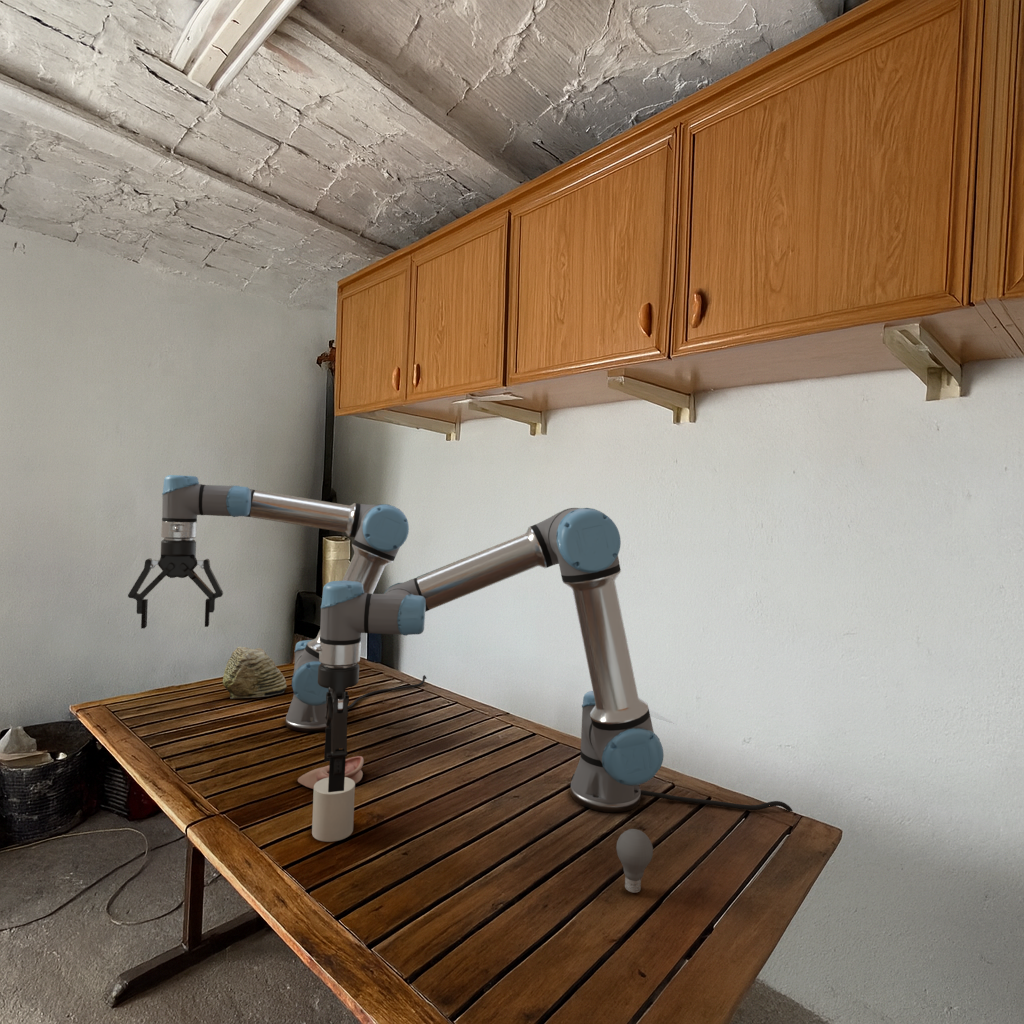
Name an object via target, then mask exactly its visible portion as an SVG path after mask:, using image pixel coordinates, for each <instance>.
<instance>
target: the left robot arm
mask: <svg viewBox="0 0 1024 1024" xmlns="http://www.w3.org/2000/svg"><path fill="white" fill-rule="evenodd" d="M161 495H162V496H161V498H162V500H161V501H162V502H161V504H162V506H161V507H162V508H161V510H162V511H161V512H162V513H161V530H160V531H161V533H160V536H161V538H162V540H161V541H160V557H159V559H153V558H150V557H149V558H146V560H145V561H144V566H143V570H142V571H141V572H140V574H139V576H138V578H137V579H136V581H135V582H134V584H133V586H132V587H131V589H130V590H129V592H128V593H127V597H128V598H129V599H134V600H135V601H136V614H137V615H141V617H140V629H146V628H147V627H148V602H149V599H148V598H146V596H148V595H149V594H150V592H151V591H153V589H154V588H155V587H156V586H157V585H158V584H159V583H161V581H162V580H163V579H164V578H166V577H168V578H169V579H175V578H180V579H185V578H188V579H190V580H191V581H192V582H193V583H194V584H195V585H196V586H197V588H198V589H200V590H201V592H202V593H203V594H204V595H205V596H206V597H207V598H206V599H205V604H204V605H205V607H204V608H205V609H204V628H205V627H206V628H208V627H209V625H210V613H214V611H215V608H216V600H217V599H218V598H221V597H222V596H223V595H224V591H223V589H222V587H221V585H220V583H219V580H218V579H217V577H216V576H215V573H214V572H213V570H212V567H211V562H210V561H211V560H210V559H209V558H205V559H197V541H196V540H195V538H197V528H198V516H214V517H215V516H217V517H232V518H236V517H237V518H239V517H245V518H252V519H260V520H266V521H272V522H278V523H283V524H284V523H285V524H290V525H297V526H303V527H309V528H315V529H322V530H327V531H328V530H329V531H334V532H339V533H340V532H341V533H345V534H346V536H347V537H349V538H354V539H353V541H352V543H351V546H352V549H353V552H354V553H353V555H352V558H351V560H350V562H349V565H348V567H347V570H346V571H345V574H344V575H343V577H342V580H341V581H355V582H360V583H362V584H363V590H364V593H369V594H374V592H375V589H376V588H377V585H378V583H379V581H380V578H381V576H382V574H383V572H384V570H385V567H386V566H388V565H390V564H393V563H394V561H395V559H396V557H397V555H398V552H399V550H400V548H401V547H402V546H403V545H404V544H405V542H406V541H407V540H408V536H409V533H410V532H409V531H410V525H409V521H408V518H407V516H406V515H405V513H404V512H403V511H402V510H401V509H400V508H398V507H397V506H394V505H392V504H388V503H387V504H386V503H385V504H384V503H379V504H367V503H365V504H364V503H358V502H354V503H352V504H350V505H348V504H342V503H338V502H337V503H336V502H330V501H325V500H319V499H313V498H307V497H300V496H294V495H289V494H282V493H276V492H271V491H264V490H260V489H259V490H258V489H252V488H250V487H248V486H242V485H241V486H240V485H222V484H221V485H219V484H218V485H217V484H202V483H200V482H199V478H198V476H194V475H179V474H176V475H175V474H169V475H166V476H165V477H164V478H163V487H162V493H161ZM156 566H158V567H159V568H160V570H161V572H160V573H159V574H158V575H157V576H156V577H155V578H154V579H153V580H152V581H151V582H150V583H149V584H148V585H147V586H146V587H145V588H144V590H142V591H141V592H140V593H138V592H139V590H140V588H141V587H142V585H143V583H144V582H145V580H146V579H147V577H148V576H149V574H150V572H151V570H152V569H154V568H155V567H156ZM197 566H199V567H200V568H201V569H203V570H204V573H205V576H206V577H207V578H208V580H209V582H210V585H211V587H212V588H213V590H212V589H211V588H210V587H209V586H208V585H207V584H206V583H205V582H204V581H203V580H202V579H201V577H200V576H199V575H198V574H197V573H196V571H195V569H196V567H197ZM213 591H214V592H213ZM317 646H321V645H320V630H319V631H318V633H317V636H316V637H315V638H313V639H306V640H305V639H304V640H300V641H298V642H296V643H295V648H294V650H293V651H294V667H293V673H292V677H291V688H292V691H293V695H292V696H293V697H292V699H291V702H290V704H289V708H288V711H287V713H286V715H285V726H286V728H287V729H289V730H291V731H294V732H295V731H296V732H301V733H316V732H326V727H329V726H326V721H327V720H326V718H325V716H326V710H327V708H326V702H327V701H326V692H328V689H329V688H324V687H322V686H320V685H319V684H318V666H319V665H320V664H321V663H320V662H319V653H320V651H316V647H317ZM425 680H427V676H426V675H425V674H424V675H422V680H421V681H420V682H419V683H416V684H415V683H414V684H411V685H410V684H409V685H402V686H398V687H390V688H381V689H378V690H372V691H369V692H367V693H364V694H363V695H361V696H359V697H357V698H356V699H354V701H353V702H352V703H351V704H348V710H349V709H351V708H353V707H354V706H355V705H356V704H357V703H358V702H359V701H360V700H362V699H365V698H367V697H368V696H371V695H375V694H379V693H384V692H392V691H398V690H399V691H400V690H406V689H411V688H416V687H420V686H422V685H423V684H424V683H425Z"/></svg>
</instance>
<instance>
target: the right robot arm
mask: <svg viewBox="0 0 1024 1024" xmlns="http://www.w3.org/2000/svg"><path fill="white" fill-rule="evenodd" d="M620 550H621V534H620V531H619V528H618V527H617V524H616V523H615V522H614V521H613V519H611V517H610V516H608V515H607V514H606V513H604V512H603V511H600V510H598V509H596V508H591V507H568V508H566V509H563V510H561V511H559V512H557V513H554V515H552V516H550V517H548V518H546V519H544V520H541V521H540V522H538V523H535V524H533V525H529V526H528V527H527V529H526V532H525V533H524V534H520V535H518V536H516V537H513V538H510V539H508V540H506V541H503V542H500V543H498V544H496V545H494V546H491V547H488V548H486V549H483V550H480V551H478V552H476V553H473V554H471V555H468V556H466V557H463V558H461V559H458V560H456V561H453V562H451V563H448V564H446V565H443V566H440V567H438V568H436V569H433V570H430V571H429V572H426V573H424V574H420V575H418V576H417V577H415V578H411V579H409V580H406V581H404V582H397V583H394V584H392V585H390V586H389V587H388V588H387V589H386V590H385V591H384V593H373V594H369V593H364V590H363V584H362V583H360V582H355V581H342V580H332V581H328V582H326V584H324V586H323V589H322V595H321V597H322V598H321V605H320V627H319V628H320V629H319V631H320V645H321V646H317V647H316V651H320V653H319V662H320V663H321V664H320V665H319V666H318V684H319V685H320V686H322V687H324V688H329V689H328V692H326V701H327V702H326V708H327V710H326V716H325V718H326V720H327V721H326V726H329V727H326V730H325V736H324V753H323V754H324V755H323V761H324V762H329V764H328V765H329V783H328V792H337V791H344V780H345V761H346V759H347V757H348V753H349V752H348V716H349V709H348V706H349V703H350V695H349V691H348V690H346V689H349V688H353V687H356V685H357V684H358V683H359V681H360V680H359V679H360V664H359V662H360V661H361V647H362V637H361V636H362V634H378V635H379V634H380V635H401V636H409V635H411V636H412V635H421V634H423V632H424V631H425V626H426V625H425V623H426V612H428V611H430V610H433V609H435V608H438V607H441V606H443V605H446V604H448V603H451V602H452V601H455V600H458V599H460V598H463V597H465V596H468V595H470V594H472V593H475V592H478V591H480V590H483V589H485V588H488V587H490V586H492V585H495V584H497V583H500V582H503V581H505V580H509V579H510V578H513V577H515V576H518V575H520V574H522V573H525V572H528V571H530V570H532V569H535V568H537V567H539V568H540V567H541V568H542V569H547V568H550V567H552V566H555V565H558V566H559V571H560V576H561V581H562V583H563V584H564V585H565V586H567V587H569V588H570V589H571V591H572V596H573V602H574V606H575V610H576V616H577V621H578V625H579V629H580V635H581V640H582V643H583V650H584V654H585V659H586V664H587V669H588V674H589V679H590V685H591V688H592V690H590V691H587V692H585V693H584V695H583V699H582V704H581V708H582V709H581V732H580V733H581V734H580V754H579V762H578V763H577V765H576V768H575V771H574V773H573V774H572V776H571V781H570V791H569V792H570V796H571V798H572V799H573V801H575V802H576V803H578V804H579V805H581V806H583V807H584V808H588V809H590V810H592V811H593V810H594V811H596V812H597V811H598V812H603V813H622V812H627V811H631V810H633V809H635V808H637V807H638V806H639V805H640V802H641V796H645V797H652V798H659V799H663V800H670V801H674V802H680V803H689V804H698V805H706V806H715V807H722V808H727V809H736V810H745V811H760V810H764V809H768V808H771V807H772V808H773V807H781V808H783V809H785V810H786V811H787V812H793V811H794V810H793V809H792V807H791V806H790V805H789V804H787V803H785V802H783V801H781V800H780V801H779V800H773V801H767V802H764V803H760V804H743V803H742V804H741V803H733V802H726V801H719V800H714V799H713V800H712V799H704V798H694V797H686V796H680V795H679V796H678V795H673V794H667V793H662V792H657V791H649V790H644V789H641V787H640V785H643V784H645V783H647V782H648V781H651V780H652V779H653V778H654V777H655V776H656V775H657V773H658V771H659V770H660V769H661V767H662V765H663V762H664V757H665V756H664V747H663V745H662V742H661V740H660V738H659V737H658V735H657V734H656V733H655V732H654V728H653V723H652V718H651V713H650V708H649V705H648V703H647V702H646V701H645V700H644V699H641V698H640V697H639V693H638V688H637V687H638V686H637V682H636V677H635V673H634V672H635V671H634V668H633V664H632V663H633V662H632V658H631V652H630V649H629V643H628V639H627V635H626V634H627V633H626V628H625V623H624V619H623V614H622V609H621V604H620V603H621V602H620V599H619V598H620V597H619V595H618V593H619V592H618V590H617V585H616V584H617V583H616V580H617V578H618V577H619V575H620V574H621V572H622V569H621V564H620V559H619V554H620ZM769 805H770V806H769Z"/></svg>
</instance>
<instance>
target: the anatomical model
mask: <svg viewBox="0 0 1024 1024" xmlns="http://www.w3.org/2000/svg"><path fill="white" fill-rule="evenodd" d="M363 766H364V757H363V756H361V755H356V756H352V757H347V758H346V761H345V777H347V778H350V779H352V780H353V781H354V782H355V785H356V784H358V783H359V782H360V781H361V780H362V779H363V775H364V773H363V771H362V768H363ZM328 777H329V764H328V765H326V766H322V767H318V768H315V769H312V770H310V771H308V772H306V773H304V774H302V775H300V776H299V777H298V778H297V782H298V784H300V785H302V786H304V787H306V788H309V789H312V790H314V785H315V783H316V782H318V781H319V780H321V779H324V778H328Z"/></svg>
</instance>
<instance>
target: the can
mask: <svg viewBox="0 0 1024 1024" xmlns="http://www.w3.org/2000/svg"><path fill="white" fill-rule="evenodd" d="M328 783H329V777H328V778H324V779H321V780H319V781H318V782H316V783H315V785H314V789H313V795H312V796H313V797H312V823H311V834H312V837H313V838H314V839H315V840H316V841H320V842H326V843H331V842H338V841H342V840H345V839H346V838H348V837H350V836H351V835H352V834H353V832H354V823H355V822H354V821H355V820H354V819H355V792H356V784H355V782H354V781H353V780H352V779H350V778H347V777H345V780H344V791H337V792H328Z"/></svg>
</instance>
